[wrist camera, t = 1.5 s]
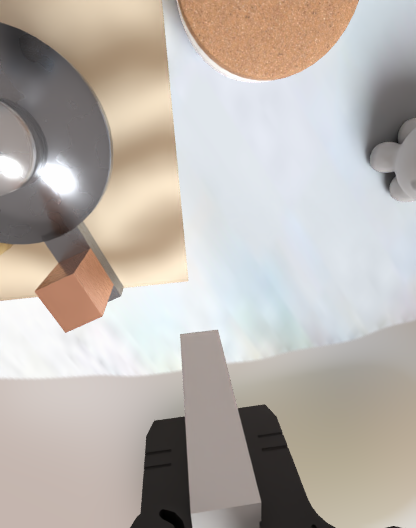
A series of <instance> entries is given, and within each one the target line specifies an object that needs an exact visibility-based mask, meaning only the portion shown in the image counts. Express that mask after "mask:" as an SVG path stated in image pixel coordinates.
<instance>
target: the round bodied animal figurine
mask: <svg viewBox="0 0 416 528" xmlns="http://www.w3.org/2000/svg"><path fill="white" fill-rule="evenodd" d="M398 142H399V144H398V143H395V142H383V143H380V144H378V145H377V146H376V147H375V148H374V149H373V150H372V153H371V155H370V165H371V167H372V168H373V169H374V170H376V171H378V172H384V173H387V172H394V171H395V174H396V177H395V178H394V179H393V180H392V181H391V183H390V188H389V191H390V195H391V197H392V198H394V199H395V200H397V201H401V202H412V201H416V118H412V119H409V120H407V121H406V122H404V123H403V125H402V126H401V128H400V130H399V133H398Z"/></svg>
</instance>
